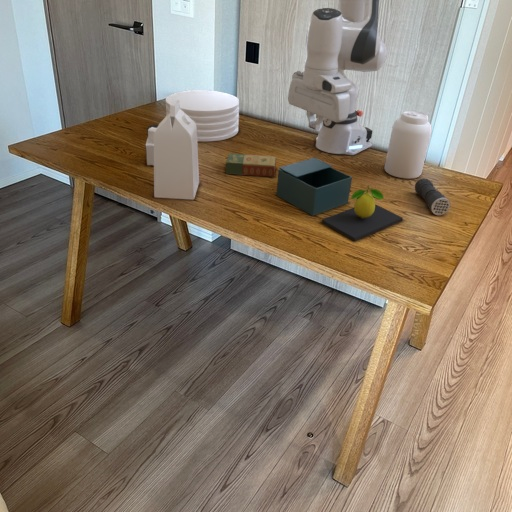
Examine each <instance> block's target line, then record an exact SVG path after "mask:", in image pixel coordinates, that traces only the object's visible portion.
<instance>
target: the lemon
mask: <svg viewBox="0 0 512 512" xmlns="http://www.w3.org/2000/svg"><path fill="white" fill-rule="evenodd" d="M369 187H370V185H367V189H366V190H362V189H357V190H356V191H355V192H353V193H352V194H351V197H350V199H352V200H355V202H354V206H353V208H354V211H355V213H356V215H358V216H359V217H361V218H367V217H370V216H371V215H372V214H373V212H374V210H375V204H376V200H375V198H376V199H378V200H385V197H384V194H383V193H382V192H381V191H380V190H379V189H376V188H369ZM369 191H370V193H369Z"/></svg>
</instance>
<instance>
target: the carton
mask: <svg viewBox="0 0 512 512" xmlns="http://www.w3.org/2000/svg"><path fill="white" fill-rule="evenodd" d="M276 167H277V156H276V155H263V154H247V153H235V152H234V153H232V152H228V155H227V158H226V161H225V167H224V168H225V174H227V175H228V174H229V175H242V176H255V177H257V176H258V177H268V178H269V177H270V178H275V175H276V174H275V173H276Z"/></svg>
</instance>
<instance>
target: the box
mask: <svg viewBox="0 0 512 512" xmlns="http://www.w3.org/2000/svg"><path fill="white" fill-rule="evenodd" d="M352 180H353V176H351V175H348V174H346V173H344V172H342V171H340V170H338V169H335V168H334V167H330V168H327V169H323V170H320V171H317V172H313V173H310V174H306V175H303V176H300V177H295V176H293V175H291V174H289V173H287V172H285V171H283V170H281V169H279V168H278V172H277V185H276V196H277V197H279V198H281V199H282V200H284V201H286V202H287V203H289V204H290V205H293V206H294V207H296V208H298V209H300V210H302V211H303V212H305V213H306V214H308V215H310V216H312V217H313V216H316V215H319V214H322V213H325V212H327V211H330V210H333V209H336V208H338V207H341V206H343V205H347V204H348V203H349V198H350V194H351V193H350V192H351V188H352V187H351V186H352Z"/></svg>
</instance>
